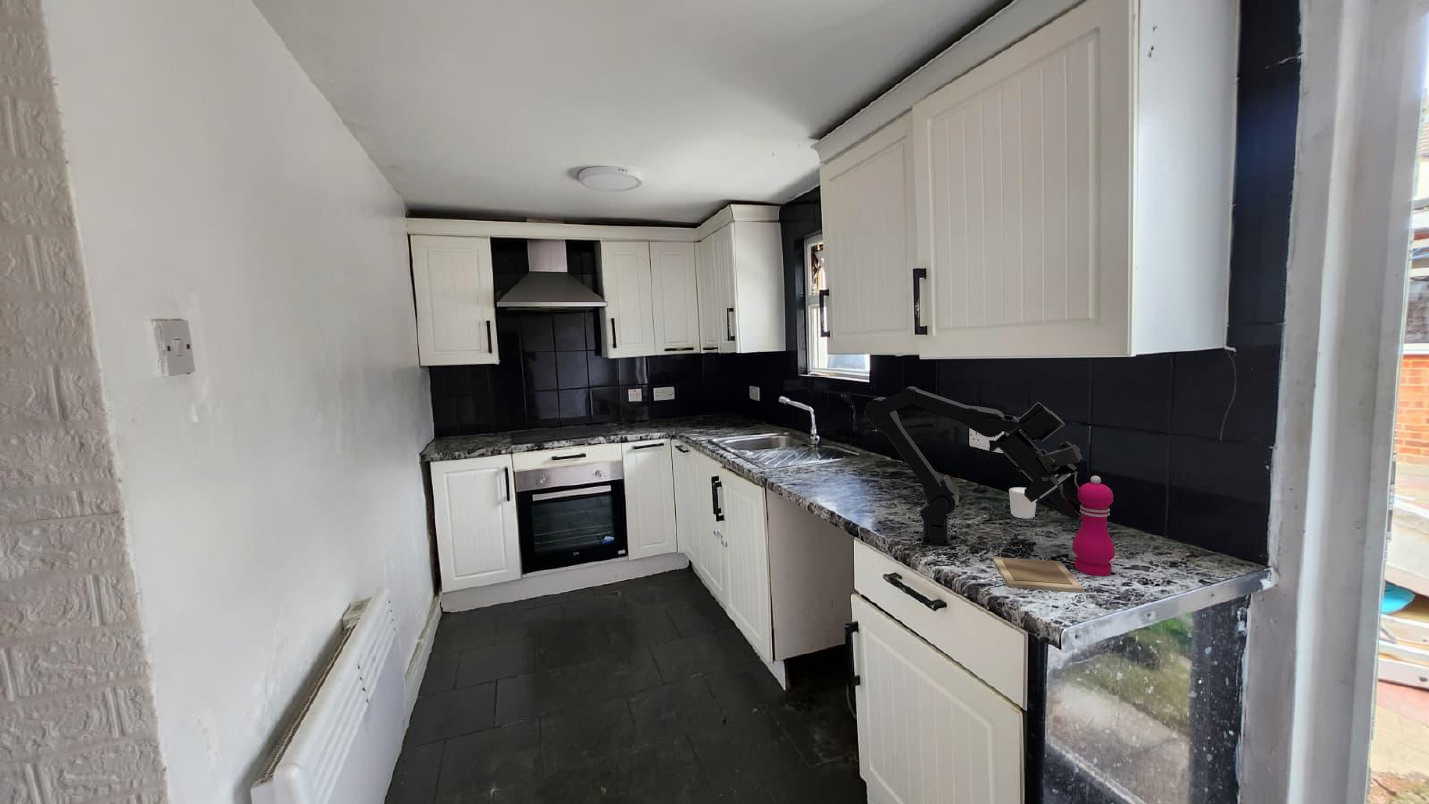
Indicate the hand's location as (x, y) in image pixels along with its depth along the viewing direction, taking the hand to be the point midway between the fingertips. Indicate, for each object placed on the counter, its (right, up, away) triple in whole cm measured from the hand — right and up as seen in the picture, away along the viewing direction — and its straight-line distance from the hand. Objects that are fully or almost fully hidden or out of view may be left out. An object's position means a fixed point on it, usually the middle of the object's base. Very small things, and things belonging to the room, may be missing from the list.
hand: (1083, 512), depth 110 cm
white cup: (+7, -8, +34) cm, 36 cm away
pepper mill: (+2, -12, 0) cm, 12 cm away
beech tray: (-11, -13, -2) cm, 17 cm away
